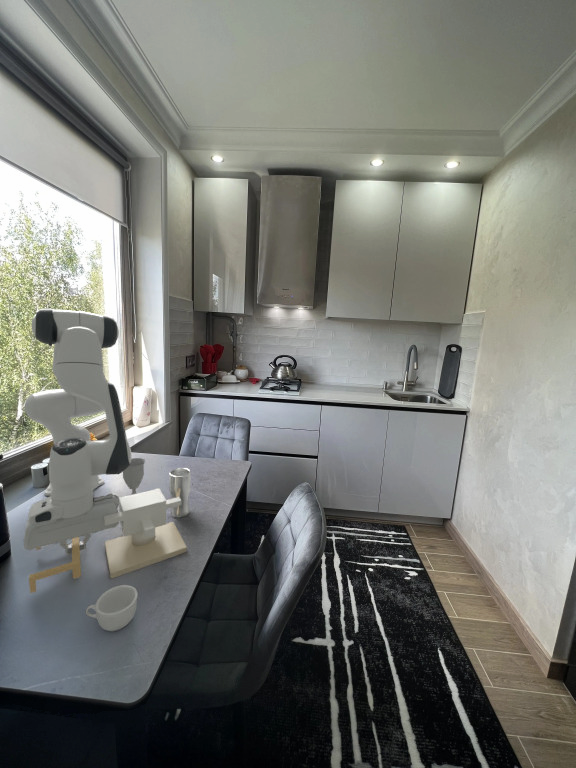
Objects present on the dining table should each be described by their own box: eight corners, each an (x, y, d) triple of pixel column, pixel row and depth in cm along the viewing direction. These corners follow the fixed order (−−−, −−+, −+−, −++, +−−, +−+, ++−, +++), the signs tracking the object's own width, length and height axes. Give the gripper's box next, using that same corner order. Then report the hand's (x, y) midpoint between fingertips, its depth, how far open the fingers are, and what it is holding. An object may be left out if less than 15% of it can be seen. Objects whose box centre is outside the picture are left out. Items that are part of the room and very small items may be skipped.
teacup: (141, 603, 72) (141, 582, 71) (132, 634, 65) (131, 612, 64) (94, 608, 70) (92, 587, 69) (78, 642, 63) (77, 619, 62)
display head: (103, 546, 90) (101, 501, 87) (174, 525, 101) (173, 485, 98) (109, 579, 78) (107, 528, 76) (187, 551, 90) (187, 506, 87)
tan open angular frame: (30, 593, 71) (28, 577, 70) (36, 547, 84) (35, 534, 84) (81, 576, 76) (80, 562, 76) (79, 536, 90) (78, 523, 89)
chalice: (122, 519, 102) (120, 468, 99) (122, 509, 108) (120, 459, 105) (147, 515, 105) (145, 464, 102) (145, 504, 111) (144, 456, 108)
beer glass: (184, 520, 104) (184, 478, 101) (165, 516, 105) (164, 475, 103) (194, 509, 110) (194, 469, 108) (176, 505, 112) (176, 466, 109)
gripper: (117, 487, 88) (119, 531, 91) (23, 506, 77) (27, 556, 79) (120, 497, 83) (122, 544, 86) (20, 520, 72) (25, 573, 74)
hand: (76, 550), depth 82 cm, fingers closed on tan open angular frame, 2 cm apart
